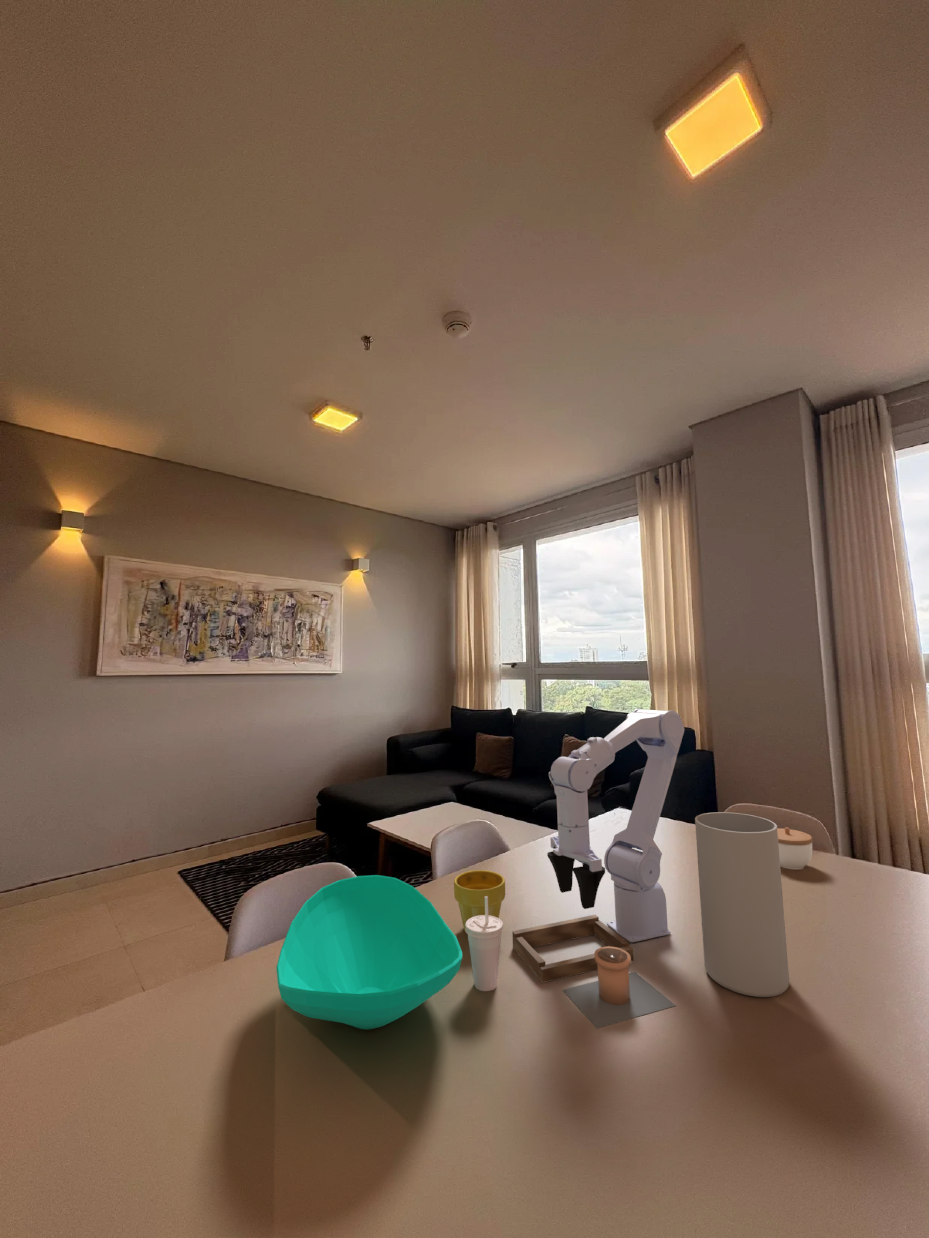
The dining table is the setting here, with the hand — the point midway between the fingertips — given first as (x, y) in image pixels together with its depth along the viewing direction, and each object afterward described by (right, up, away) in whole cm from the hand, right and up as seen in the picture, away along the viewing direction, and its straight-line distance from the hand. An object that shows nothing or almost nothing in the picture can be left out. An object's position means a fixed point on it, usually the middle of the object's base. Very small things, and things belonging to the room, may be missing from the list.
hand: (576, 899), depth 99 cm
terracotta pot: (+3, -8, -14) cm, 17 cm away
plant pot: (-17, -11, +9) cm, 22 cm away
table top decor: (-35, -9, -17) cm, 40 cm away
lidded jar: (+63, -12, +39) cm, 75 cm away
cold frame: (-1, -9, -1) cm, 9 cm away
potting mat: (+3, -8, -15) cm, 17 cm away
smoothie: (-17, -9, -10) cm, 22 cm away
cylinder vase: (+26, -8, -10) cm, 29 cm away
